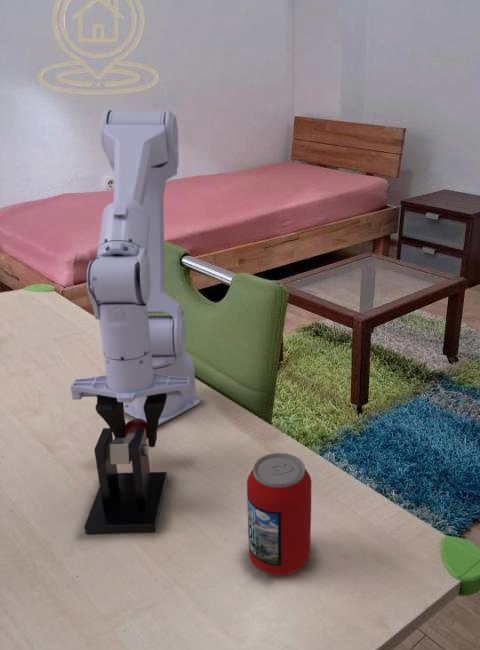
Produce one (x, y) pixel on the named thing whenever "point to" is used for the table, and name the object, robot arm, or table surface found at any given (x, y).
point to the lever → (126, 442)
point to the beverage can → (279, 513)
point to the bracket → (126, 490)
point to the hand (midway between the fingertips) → (137, 443)
